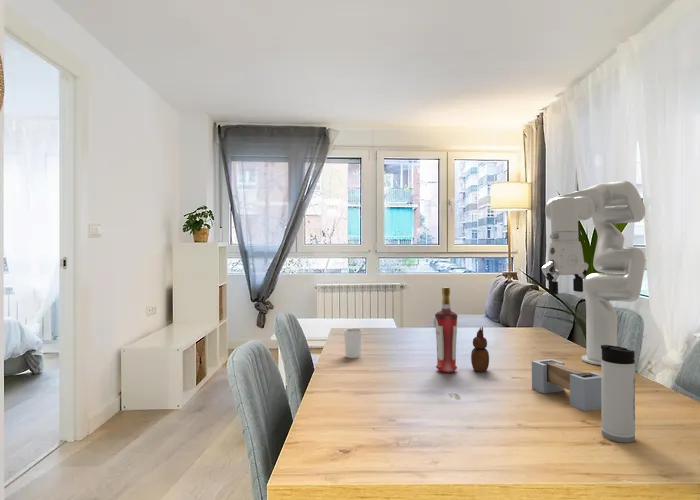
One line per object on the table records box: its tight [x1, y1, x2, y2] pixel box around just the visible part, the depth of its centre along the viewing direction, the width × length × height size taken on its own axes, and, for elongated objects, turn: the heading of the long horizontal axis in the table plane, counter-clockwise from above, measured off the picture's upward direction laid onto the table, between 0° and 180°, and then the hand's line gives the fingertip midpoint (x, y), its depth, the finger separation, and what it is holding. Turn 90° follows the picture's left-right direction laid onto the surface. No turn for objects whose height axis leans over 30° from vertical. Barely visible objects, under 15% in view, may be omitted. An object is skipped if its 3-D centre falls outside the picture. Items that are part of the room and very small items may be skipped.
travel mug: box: [600, 345, 636, 444], centre depth 97 cm, size 6×7×20 cm
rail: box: [543, 361, 592, 391], centre depth 122 cm, size 3×14×5 cm, turn 18°
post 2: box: [569, 371, 602, 412], centre depth 115 cm, size 7×5×8 cm, turn 108°
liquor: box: [434, 286, 458, 374], centre depth 148 cm, size 7×7×28 cm
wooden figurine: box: [470, 326, 490, 373], centre depth 149 cm, size 7×6×15 cm
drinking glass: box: [343, 327, 362, 359], centre depth 170 cm, size 7×7×10 cm
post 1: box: [531, 358, 565, 394], centre depth 129 cm, size 7×5×8 cm, turn 108°
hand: (565, 292), depth 137 cm, fingers open, 9 cm apart
